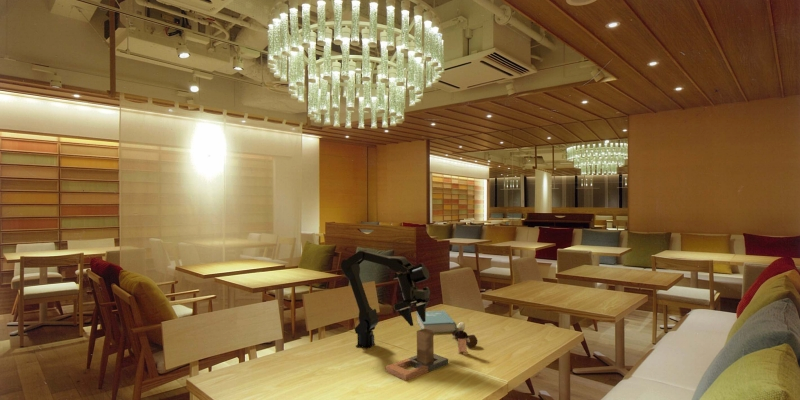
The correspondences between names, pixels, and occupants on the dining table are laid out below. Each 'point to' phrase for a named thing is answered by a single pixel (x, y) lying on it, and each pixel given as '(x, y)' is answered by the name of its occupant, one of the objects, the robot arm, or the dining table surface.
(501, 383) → the dining table surface
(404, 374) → the grey-tan flat frame piece
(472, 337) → the bolt
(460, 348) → the grandmother figurine
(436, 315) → the book
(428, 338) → the walnut post
